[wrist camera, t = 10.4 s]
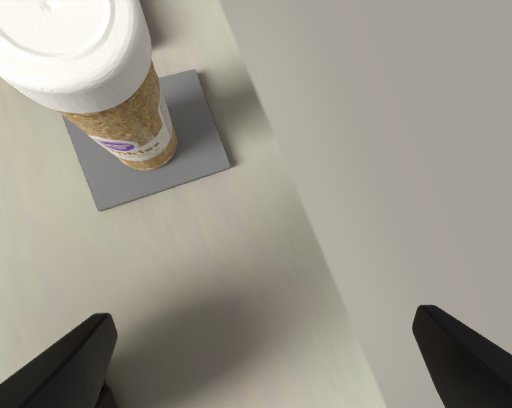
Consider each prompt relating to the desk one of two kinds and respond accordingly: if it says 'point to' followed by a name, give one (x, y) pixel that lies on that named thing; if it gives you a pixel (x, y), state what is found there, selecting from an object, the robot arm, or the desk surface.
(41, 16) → the sprinkles bottle
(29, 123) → the desk surface
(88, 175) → the pad
